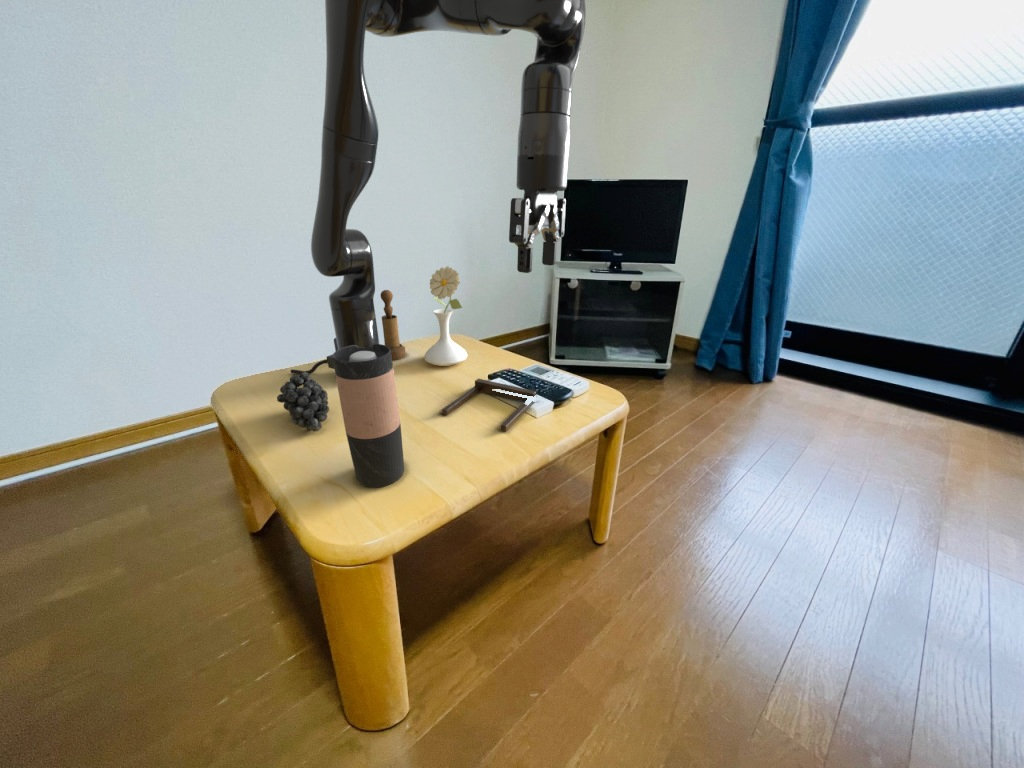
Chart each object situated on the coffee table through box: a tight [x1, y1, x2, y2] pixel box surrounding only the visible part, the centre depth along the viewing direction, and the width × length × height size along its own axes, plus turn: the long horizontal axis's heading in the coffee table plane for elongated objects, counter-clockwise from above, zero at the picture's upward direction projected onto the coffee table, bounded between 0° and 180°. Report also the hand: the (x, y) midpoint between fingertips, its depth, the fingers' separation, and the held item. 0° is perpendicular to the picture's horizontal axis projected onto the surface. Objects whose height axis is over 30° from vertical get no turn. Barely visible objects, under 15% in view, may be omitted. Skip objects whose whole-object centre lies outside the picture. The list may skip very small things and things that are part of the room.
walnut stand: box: [441, 378, 537, 433], centre depth 81 cm, size 14×14×2 cm
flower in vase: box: [423, 265, 468, 367], centre depth 99 cm, size 13×11×25 cm
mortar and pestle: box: [380, 289, 407, 361], centre depth 104 cm, size 7×6×18 cm
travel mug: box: [332, 343, 405, 489], centre depth 57 cm, size 8×8×20 cm
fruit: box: [276, 372, 330, 432], centre depth 73 cm, size 9×8×15 cm
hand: (537, 268), depth 64 cm, fingers open, 8 cm apart
